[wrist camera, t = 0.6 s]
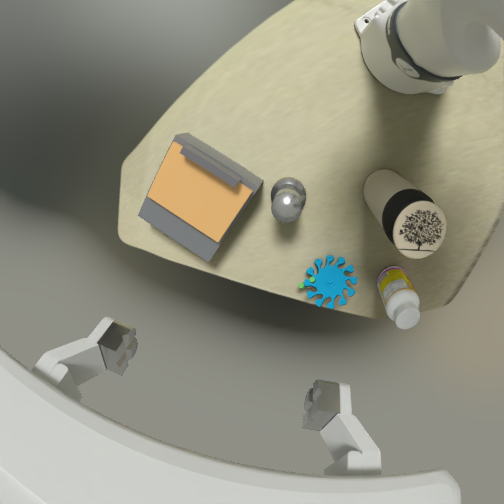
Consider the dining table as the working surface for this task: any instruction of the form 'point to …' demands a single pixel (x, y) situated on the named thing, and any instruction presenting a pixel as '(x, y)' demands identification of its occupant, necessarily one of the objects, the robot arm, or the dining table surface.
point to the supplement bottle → (399, 297)
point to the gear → (329, 281)
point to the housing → (181, 228)
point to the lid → (199, 190)
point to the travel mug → (405, 214)
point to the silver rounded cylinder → (287, 199)
